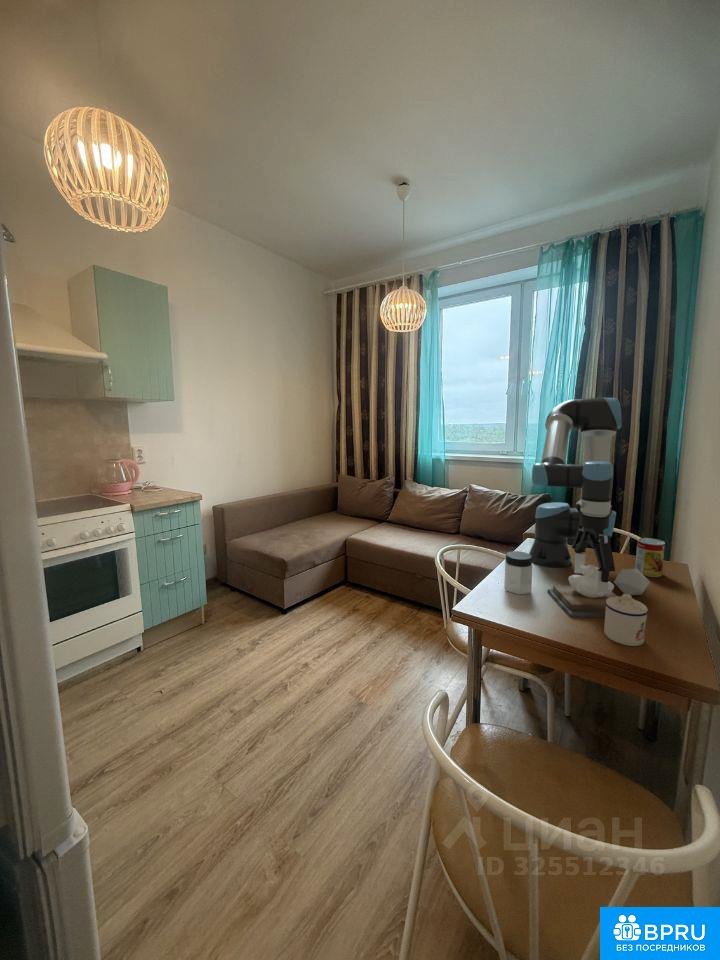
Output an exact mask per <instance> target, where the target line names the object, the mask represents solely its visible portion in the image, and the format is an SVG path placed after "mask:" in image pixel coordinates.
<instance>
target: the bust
mask: <svg viewBox="0 0 720 960" xmlns="http://www.w3.org/2000/svg"><path fill="white" fill-rule="evenodd" d="M580 567H581V569H582V570H584V571H583V573H582V574H581V575H580V574H572V575H570V576H568V578H567V579H568V582H569V586H571V587H572V588H573V589H574V590H576V591H577V592H578V593H580V594H582V595H583V596H586V597H589V598H598V597H603V596H608V595H610V593H611V592H613V590H614V588H615V585H614V584H613V583H612V582H611V581H608V592H597V591H596V589H597V575H598V569H599V568H600V567H597V566H595V564H591V563H590V564H586V565H585V566H584V565H580Z"/></svg>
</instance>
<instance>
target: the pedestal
mask: <svg viewBox="0 0 720 960" xmlns="http://www.w3.org/2000/svg"><path fill="white" fill-rule="evenodd" d="M547 593H548V595H550V596H551V598H552V599H553V600H554V601H555V602H556V603H557V605H558V606H560V608H561V609H562V610H563V611H564V612H565V614H566V615H568V617H570V618H571V617H572V618H573V617H575V618H605V613H606V604H605V602H606V600H607V599H608V598H610V597H619V596H618V594H615V593H614V591H612V592H611V593H610V595H608V596H603V597H598V598H589V597H586V596H583V595H582V594H580V593H578V592H577V591H576V590H574V589H573V588H572V587H571V585H554V584H553V586H552V588H551V589H549V588H547Z"/></svg>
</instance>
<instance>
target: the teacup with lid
mask: <svg viewBox="0 0 720 960" xmlns="http://www.w3.org/2000/svg"><path fill="white" fill-rule="evenodd" d="M632 596H633V595H629V594H624V593H623V594H622V595H621V596H618V597H610V598H608V599H607V600H606V602H605V604H606V613H605V617H604V626H603V627H604V628H603V629H604V630H603V632H604V635H605V636H606V637H607V638H608V639H609V640H611V641H613V642H615V643H617V644H621V645H622V646H623V645H624V646H629V647H630V646H631V647H637V646H641V645H643V644H644V643H645V635H646V624H647V615H648V614H649V609H648V607H647V606H646V605H645V604H644V603H642V602H641V601H639V600H636V599H634V598H633V597H632Z"/></svg>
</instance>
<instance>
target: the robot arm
mask: <svg viewBox="0 0 720 960" xmlns="http://www.w3.org/2000/svg"><path fill="white" fill-rule="evenodd" d="M622 425H623V424H622V409H621V404H620V401H619V399H618V398H616V397H605V396H604V397H593V398H592V397H591V398H573V399H568V400H565V401H562V402H561V403H559V404H558V405H556V406H555V407H554V408H553V409H552V410H551V411H550V412H549V413H548V415H547V416H546V419H545V424H544V426H545V429H546V432H545V433H546V434H545V440H544V443H543V444H544V445H543V451H542V456H541V461H540V462H536V463H534V464H533V466H532V470H531V471H532V472H531V481H532V484H534V485H535V486H544V487H554V488H555V487H556V488H557V487H558V488H561V487H562V488H576V489H581V492H580V499H579V500H578V501H577V502H576V503H575V507H571V505H570V504H569V503H568V502H562V501H561V502H554V501H553V502H545V503H542V504H539V505H538V506H537V507H536V508H535V515H534V518H535V523H534V524H535V525H534V541H533V542H532V545H531V548H530V550H529V553H528V554H530V555H531V556H532V563H534V564H537V565H541V566H544V567H551V568H563V567H565V568H566V567H568V566H570V565H572V564H571V563H572V556H571V553H570V549H569V546H568V539H570V538H571V539H573V542H572V544H571V548H572V549H574V550H573V551H574V555H575V556H574V569H573V570H574V571H573V572H574V574H583V571H584V570H582V569H581V567H580V565H584V566H586V565H585V563H586V553H587V552H586V550H587V548H588V546H591V548H592V549H593V550H594V554H595V557H596V560H597V563H598V564H597V565H598V568H599V569H598V575H597V589H596V591H597V592H608V581H609V580H610V573H611V572H616V566H615V561H614V555H613V550H612V545H611V542H612V540H611V538H612V535H613V531H614V527H615V524H616V523H615V522H616V516H617V512H616V511H614V510H612V509H613V508H612V507H613V505H611V502H612V498H611V497H612V491H613V488H612V487H613V477H614V466H613V464H612V462H611V461H610V460H611V447H612V445H611V444H612V437H614V436H616V434H617V430H620V429H621V428H622ZM571 430H580V435H581V436H582V437H583V438H584V443H583V456H582V457H583V458H582V459H583V460H582V464H578V463H577V464H576V463H573V464H572V463H566V462H567V454H568V445H569V438H570V437H569V436H570V432H571ZM609 582H610V581H609Z"/></svg>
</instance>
